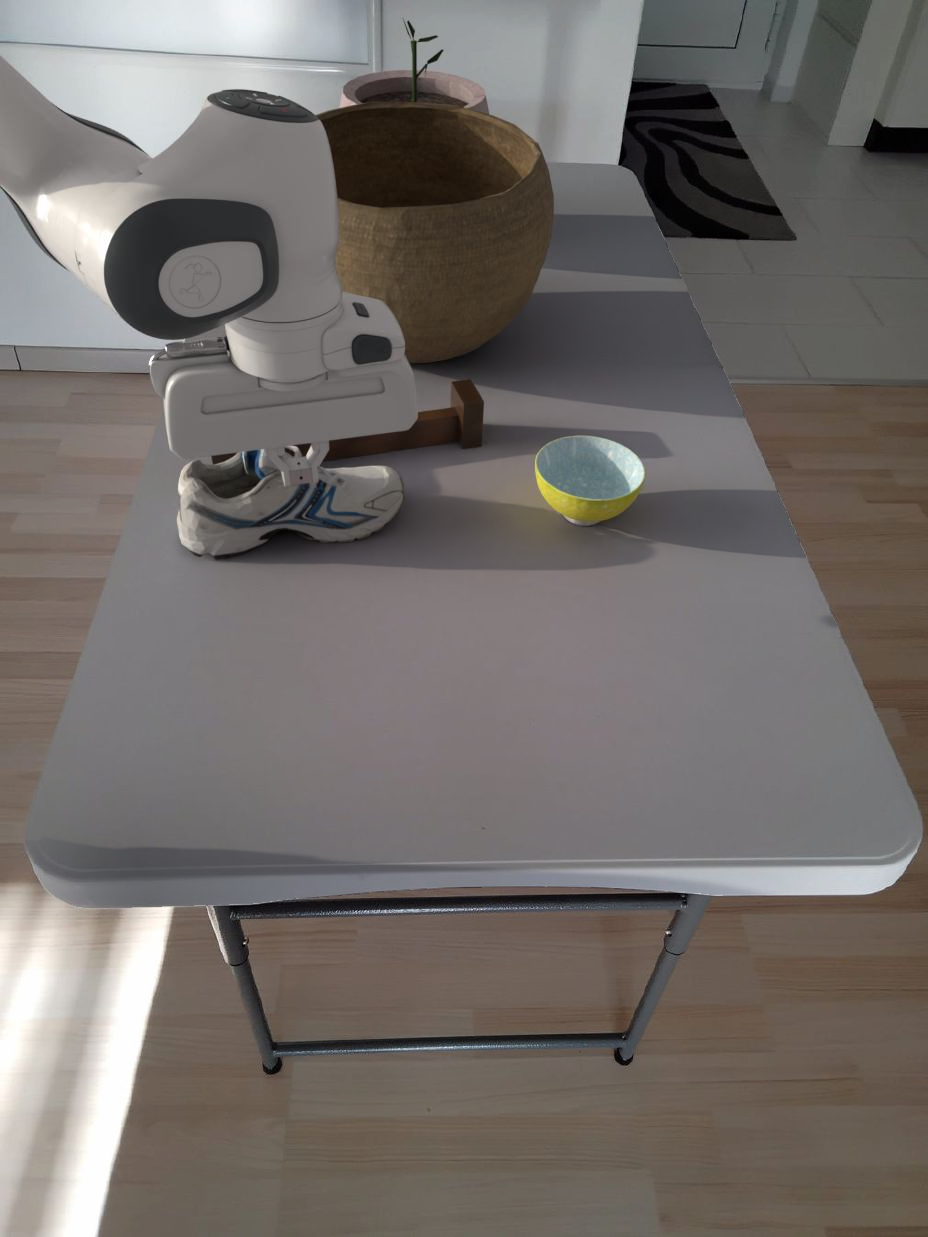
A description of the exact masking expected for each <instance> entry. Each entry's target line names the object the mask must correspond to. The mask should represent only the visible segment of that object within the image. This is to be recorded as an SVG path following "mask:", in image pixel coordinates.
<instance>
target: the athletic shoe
mask: <svg viewBox="0 0 928 1237" xmlns="http://www.w3.org/2000/svg"><path fill="white" fill-rule="evenodd" d="M284 448H288V449H290V450H293V451H294V452H295V455H294V457H292V456H291V455H290V454H288V453H286V452H285V456H286V457H287V459H290V458H298V457H302V454H301V452H300V450H299V448H298V447H295V446H292V445H291V446H284ZM317 468H318V482H314V483H306V484H300V485H294V486H286V487H285V486H284V482H283V478H282V473H281V470H280V469H279V468H278V467H277V466H276V465H275V464H274V463H273V462H272V461H271V460H270V459H269V458H268V454H267V450H266V449H260V450H253V451H245V452H238V453H237V454H236V455H235V456H234V457H232V458H231V459H229V460H227V461H225V462H221V463H218V464H205V463H203V461H202V460H201V459H195V460H192V461H190V462H188V463H187V464H185V465H184V466H183V467H182V469H181V471H180V473H179V474H180V475H179V479H178V484H177V500H178V512H177V517H176V524H177V530H178V536H179V539H180V542H181V545H182V546H183V547H184V548H186V550H188V551H189V552H190V553H191V554H192V555H193V556H195V557H198V558H201V557H202V556H203V555H205V554H210V555H211V556H212V557H213V558H215V559H222V558H225V559H226V558H228V559H229V558H230V557H232V556H240V555H243V554H245V553H249V552H251V551H252V550H253V549H257V548H259V547H261V546H263V545H264V544H266V543H267V542H269V541H270V539H271V538H272V536H275V534H277V533H278V532H281V531H291V532H293V533H296V534H298V535H299V536H300V537H302V538H304V539H306V540H310V541H319V542H320V543H322V544H323V543H335V542H338V543H341V544H343V543H354V541H355V540H356V539H357V540H361V539H366V538H368V537H371V536H372V534H373V532H379V531H380V530H382V529H383V528H384V527H385V525H386V524H387V523H390V522H391V521H392V520H393V519H394V518H395V516H396V515H397V514H398V513H399V512H400V510H401V508H402V505H403V504H404V501H405V498H406V497H405V483H404V481H403V477H402V476H401V474H400V473H399V472H398V471H397V470H394V468H391V467H390V466H387V465H364V466H355V467H334V468H325V467H323V466H319V467H317Z"/></svg>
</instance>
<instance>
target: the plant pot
mask: <svg viewBox="0 0 928 1237" xmlns="http://www.w3.org/2000/svg"><path fill="white" fill-rule="evenodd" d="M402 21H403V23H404V27H405V30H406V33H407V35H408V37H409V38H410V49H411V60H412V62H411V69H398V70H384V71H378V72H370V73H367V74H363V75H360V76H357V77H355V78H352V79H351V80H348V82H346V83H345V84H344V85H343V86H342V91H341V96H340V102H339V106H338V108H342V107H346V106H351V105H356V104H362V103H368V102H375V101H380V102H417V103H434V104H447V105H455V106H460V107H464V108H468V109H471V110H475V111H479V112H482V113H486V114H489V115H490V109H489V105H488V101H487V95H486V91H485V88H483V87H482V86H481V85H480V84H479V83H477V82H475V81H473V80H471V79H469V78H466V77H463V76H460V75H457V74H451V73H445V72H441V71H433V70H427V69H428V65H430V64H432V63H435V62H437V61H438V60H439V59H440V57H441V56H442V54H443V52H444V51H445V49H443V48H442V49H440V50H439V51H438V52H437V53H435V54H434V55H432V57H430V58H429V59H428V60H427V61H426V63H424V65H423V67H422V68H421V69H418V66H417V65H418V62H417V60H418V55H417V54H418V52H417V51H418V50H417V49H418V48H417V47H418V46H417V45H418V43H426V42H427V43H429V42H431V41H432V40H435V39H437V38H439V36H438V35H437V34H435V35H431V36H426V37H422V38H421V37H420V38H419V39H418V40H415V34H416V30H415V28H414V27H413V25H412V23H411V22H410V20H409V19H408V20H407V21H405V19H404V18H402ZM406 23H407V24H406ZM407 26H408V27H407ZM409 31H410V32H409Z"/></svg>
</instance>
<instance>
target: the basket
mask: <svg viewBox="0 0 928 1237" xmlns="http://www.w3.org/2000/svg"><path fill="white" fill-rule="evenodd" d="M315 115H316V117H317V118H318V119H319V120H320V121H321V122H322V124H323V127H324V129H325V131H326V134H327V137H328V141H329V145H330V149H331V154H332V159H333V165H334V172H335V180H336V188H337V199H338V213H339V230H340V237H339V243H338V247H337V251H336V259H335V261H336V270H337V273H338V276H339V279H340V282H341V285H342V291H343V292H347V293H351V294H356V295H360V296H365V297H370V298H375V299H379V300H381V301H383V302H384V303H385V304H386V305H387V306H388V307H389V309H390V310H391V311H392V313H393V314H394V316H395V317H396V319H397V321H398V323H399V325H400V327H401V330H402V333H403V336H404V340H405V352H404V354H405V356H406V358H407V360H408V362H409V364H429V363H434V362H440V361H448V360H451V359H453V358H456V357H457V358H458V357H461V356H464V355H467V354H469V353H471V352H473V351H475V350H477V349H479V348H480V347H481V346H483V345H484V344H486V343H487V342H489V341H490V340H491V339H493V338H494V337H497V335H499V334H500V333H501V332H503V331H505V329H506V328H507V326H509V325H510V323H511V322H512V321H513V320H514V319H515V317H517V315H518V314H519V313H520V312H521V310H522V309H523V307H525V305H526V304H527V303H528V301H529V300H530V299H531V296H532V294H533V291H534V289H535V286H536V284H537V282H538V279H539V276H540V273H541V271H542V269H543V267H544V264H545V263H546V262H545V261H546V259H547V254H548V252H549V251H548V250H549V247H550V243H551V240H552V235H553V229H554V219H555V218H554V217H555V196H554V195H555V194H554V190H553V185H552V184H553V183H552V180H551V173H550V168H549V167H548V163H547V161H546V159H545V156H544V153H543V151H542V149H541V147H540V145H539V144H540V143H539V142H537V140H535V139H533V137H531V135H529V134H527V133H526V132H525V131H524V130H523V129H521V128H520V127H519V126H517V125H516V124H515V123H512V122H511V121H507V120H505V119H502V118H500V117H499V116H495V115H494V114H493V115H492V114H490V113H489V114H486V113H482V112H479V111H475V110H471V109H468V108H464V107H460V106H455V105H447V104H434V103H417V102H380V101H375V102H368V103H362V104H356V105H351V106H346V107H342V108H339V107H338V108H334V109H329V110H325V111H323V112H320V113H317V114H315Z"/></svg>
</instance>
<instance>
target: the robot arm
mask: <svg viewBox="0 0 928 1237" xmlns="http://www.w3.org/2000/svg"><path fill="white" fill-rule="evenodd" d="M316 115H317V114H315V113H314V112H312V111H311V110H310V109H308V108H306V107H304V106H303V105H301V104H300V103H297V102H295V101H293V100H292V99H289V98H286V97H284V96H281V95H276V94H272V93H268V92H266V91H260V90H253V89H246V88H245V89H244V88H243V89H242V88H231V89H222V90H221V91H216V92H212V93H210V94H208V95H207V97H206V98H205V99H204V101H203V104H202V107H201V110H200V111H199V114H198V115H197V116H196V118H195V119H194V120H193V122H192V123H191V124H190V125H189V126H188V127H187V128H186V129H185V130H184V132H183V133H182V134H181V135H180V136H179V137H178V138H176V140H175V141H173V143H171V144H170V145H169V146H168V147H167V148H165V149H164V150H163V151H161V152H160V153H159V154H156V156H154V157H151V155H149V154H148V153H147V152H146V151H144V150H143V149H142V147H140V146H139V145H137V144H136V142H134V141H133V140H131V139H130V138H129V137H127V136H125V135H124V134H123V133H121V132H119V131H118V130H115V129H113V128H111V127H108V126H106V125H103V124H100V123H97V122H96V121H95V122H94V121H91V120H88V119H86V118H82V117H80V116H76V115H74V114H72V113H68V112H66V111H65V110H63V109H62V108H60V107H58V106H57V105H56V104H54V103H53V102H52V101H50V100H49V99H48V98H47V97H46V96H45V95H44V94H43V93H41V91H39V89H37V87H35V85H33V84H32V83H31V82H30V81H29V80H28V79H26V78H25V77H24V76H23V75H22V74H21V72H19V71H18V70H17V69H16V68H15V67H13V65H12V64H11V63H9V62H8V61H7V60H6V59H5V58H4V57H3V56H2V55H0V189H1V190H2V191H3V193H4V194H5V196H6V197H7V199H8V200H9V202H10V204H11V205H12V207H13V209H14V210H15V212H16V214H17V216H18V218H19V220H20V222H21V223H22V225H23V226H24V228H25V230H26V231H27V233H28V234H29V236H30V237H31V239H32V240H33V242H34V243H35V244H36V246H38V248H39V249H40V250H41V251H42V252H43V253H44V254H45V255H46V256H48V257H49V259H51V260H52V261H54V262H55V263H56V264H58V265H59V266H60V267H62V268H63V269H65V270H67V272H69V273H71V274H72V275H73V276H74V277H75V278H76V279H77V280H78V281H79V282H80V283H81V284H82V285H84V286H85V287H86V288H87V289H88V290H89V291H90V292H91V293H92V294H94V295H95V297H97V298H98V299H99V300H100V301H101V302H102V303H103V304H104V305H105V306H106V307H107V308H108V309H110V311H112V312H113V313H114V314H115V315H117V316H118V317H119V318H120V319H121V320H122V321H123V322H124V323H126V324H127V325H129V326H130V327H131V328H132V329H134V330H136V331H138V332H139V333H141V334H143V335H145V336H147V337H150V338H153V339H159V340H164V341H172V342H168V343H165V345H164V347H165V348H161V349H159V350H157V351H156V352H155V353H154V354H152V356H151V357H150V359H149V362H148V367H147V368H148V374H149V379H150V383H151V386H152V389H153V391H155V393H156V394H157V395H158V396H159V397H160V398H162V400H163V412H164V422H165V430H166V436H167V442H168V448H169V450H170V451H171V453H173V454H174V455H175V456H177V457H179V459H182V460H190V459H199V458H205V457H211V456H214V455H222V454H230V453H237V452H245V451H253V450H260V449H266V450H267V454H268V458H269V459H270V460H271V461H272V462H273V463H274V464H275V465H276V466H277V467H278V468H279V469H280V470H281V473H282V478H283V482H284V486H285V487H286V486H294V485H300V484H306V483H314V482H318V468H317V467H319V466H320V465H321V464H322V463H323V462H324V461H323V459H324V457H325V456H326V454H327V453H328V451H329V440H337V439H345V438H352V437H360V436H368V435H375V434H383V433H391V432H399V431H406V430H409V429H410V428H411V427H412V425H413V424H414V423H415V422H416V420H417V418H418V412H419V400H418V389H417V384H416V378H415V374H414V370H413V368H412V366H411V363H409V362H408V360H407V358H406V356H405V354H404V352H405V340H404V336H403V333H402V330H401V327H400V325H399V323H398V321H397V319H396V317H395V316H394V314H393V313H392V311H391V310H390V309H389V307H388V306H387V305H386V304H385V303H384V302H383V301H381V300H379V299H375V298H370V297H365V296H360V295H356V294H351V293H347V292H343V291H342V285H341V282H340V279H339V276H338V273H337V270H336V261H335V259H336V251H337V247H338V243H339V237H340V230H339V213H338V199H337V188H336V180H335V172H334V165H333V159H332V154H331V149H330V145H329V141H328V137H327V134H326V131H325V129H324V127H323V124H322V122H321V121H320V120H319V119H318V118H317V117H316ZM222 326H224V328H225V334H226V335H225V336H219V337H217V336H216V337H209V338H202V339H197V340H193V341H185V342H184V341H183V340H186V339H190V338H191V339H192V338H195V337H197V336H199V335H202V334H205V333H208V332H210V331H212V330H216V329H217V328H220V327H222ZM179 340H182V341H179ZM306 443H311V447H310V449H309V451H308V453H307V455H306V456H305V457H298V458H290V459H287V457H286V456H285V449H284V446H291V445H299V444H306Z"/></svg>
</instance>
